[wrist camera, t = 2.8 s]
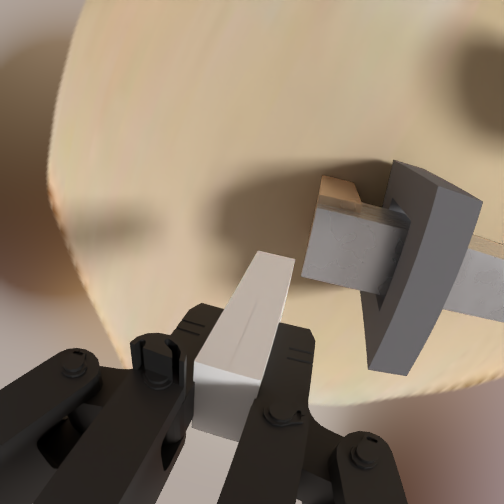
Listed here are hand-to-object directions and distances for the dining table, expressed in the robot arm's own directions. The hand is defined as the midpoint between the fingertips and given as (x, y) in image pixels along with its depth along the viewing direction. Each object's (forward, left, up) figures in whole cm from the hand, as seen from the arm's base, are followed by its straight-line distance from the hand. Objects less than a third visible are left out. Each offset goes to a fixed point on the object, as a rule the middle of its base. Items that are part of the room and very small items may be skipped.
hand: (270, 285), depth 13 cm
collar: (0, +7, -13) cm, 15 cm away
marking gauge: (0, +13, -13) cm, 18 cm away
